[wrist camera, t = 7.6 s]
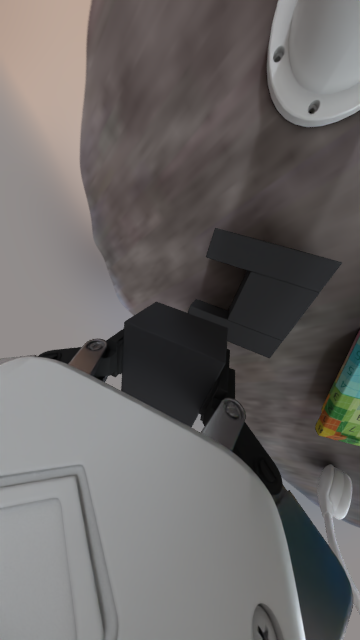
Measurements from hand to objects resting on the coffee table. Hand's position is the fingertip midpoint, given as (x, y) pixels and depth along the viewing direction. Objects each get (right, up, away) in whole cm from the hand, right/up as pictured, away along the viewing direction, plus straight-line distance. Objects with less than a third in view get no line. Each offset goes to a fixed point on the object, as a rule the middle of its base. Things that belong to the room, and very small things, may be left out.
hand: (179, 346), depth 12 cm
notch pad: (+10, +7, +11) cm, 16 cm away
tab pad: (0, -2, +2) cm, 3 cm away
